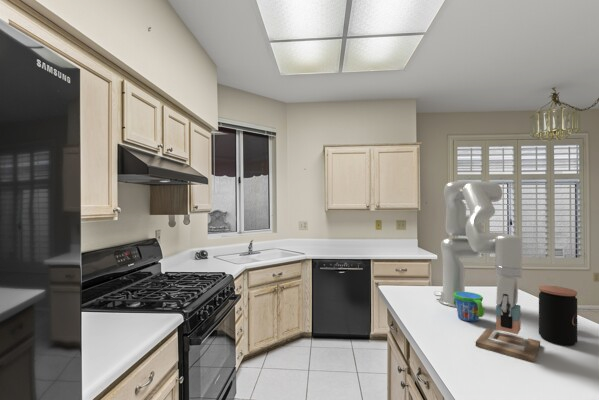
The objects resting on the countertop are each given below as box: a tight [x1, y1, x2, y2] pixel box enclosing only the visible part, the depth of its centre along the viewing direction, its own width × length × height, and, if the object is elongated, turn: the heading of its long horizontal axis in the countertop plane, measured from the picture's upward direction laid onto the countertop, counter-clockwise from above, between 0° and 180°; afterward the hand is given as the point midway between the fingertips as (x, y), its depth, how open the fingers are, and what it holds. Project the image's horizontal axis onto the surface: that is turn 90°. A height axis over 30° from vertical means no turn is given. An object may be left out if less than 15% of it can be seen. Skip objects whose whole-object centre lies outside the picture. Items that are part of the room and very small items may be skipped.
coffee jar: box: [538, 285, 578, 347], centre depth 112 cm, size 11×11×18 cm
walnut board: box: [475, 327, 541, 363], centre depth 106 cm, size 16×16×2 cm
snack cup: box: [454, 291, 485, 322], centre depth 131 cm, size 16×10×10 cm
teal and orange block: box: [495, 303, 522, 335], centre depth 106 cm, size 6×6×8 cm
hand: (508, 324), depth 106 cm, fingers closed on teal and orange block, 6 cm apart
